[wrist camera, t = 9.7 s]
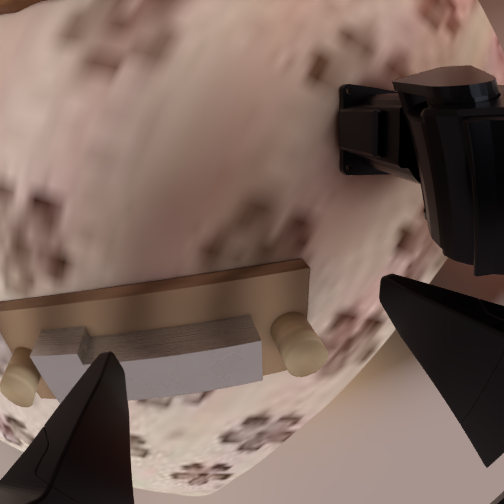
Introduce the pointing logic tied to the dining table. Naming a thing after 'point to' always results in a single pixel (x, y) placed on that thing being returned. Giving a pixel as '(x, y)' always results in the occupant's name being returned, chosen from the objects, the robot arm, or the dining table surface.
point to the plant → (15, 5)
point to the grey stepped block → (156, 357)
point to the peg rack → (171, 318)
